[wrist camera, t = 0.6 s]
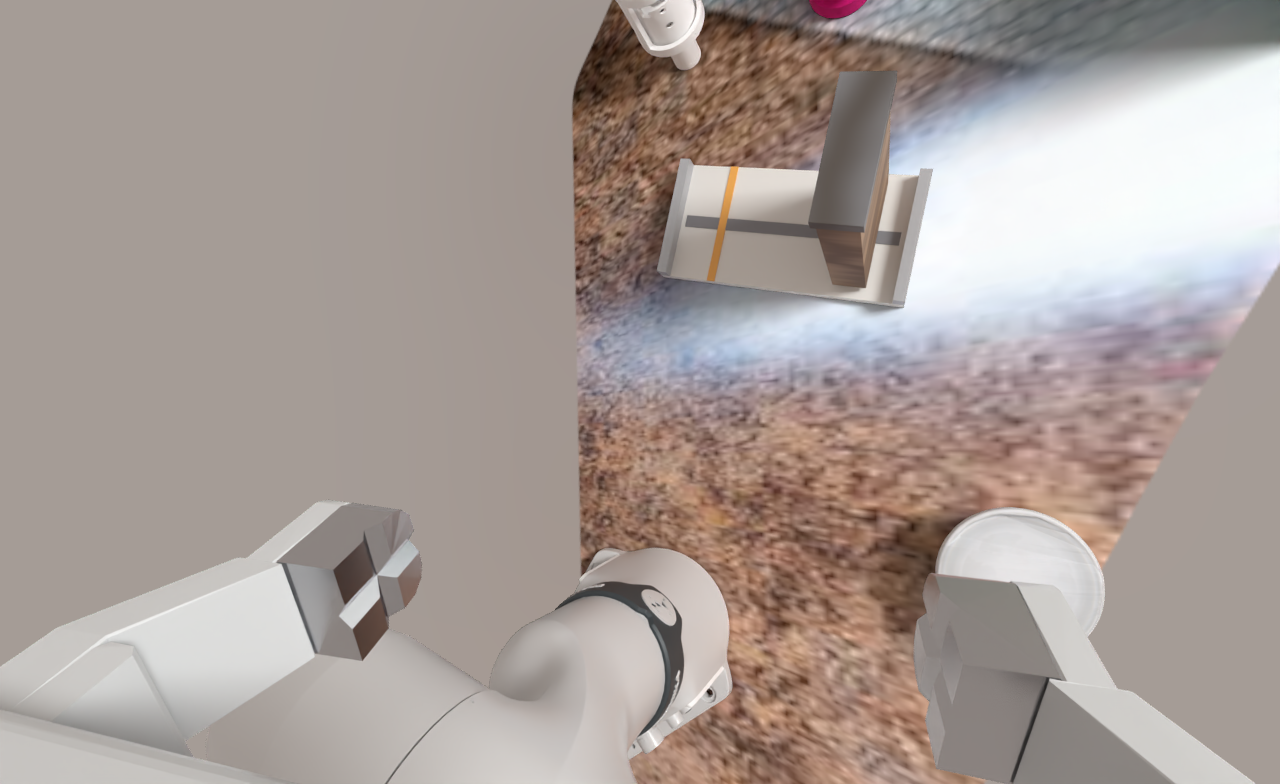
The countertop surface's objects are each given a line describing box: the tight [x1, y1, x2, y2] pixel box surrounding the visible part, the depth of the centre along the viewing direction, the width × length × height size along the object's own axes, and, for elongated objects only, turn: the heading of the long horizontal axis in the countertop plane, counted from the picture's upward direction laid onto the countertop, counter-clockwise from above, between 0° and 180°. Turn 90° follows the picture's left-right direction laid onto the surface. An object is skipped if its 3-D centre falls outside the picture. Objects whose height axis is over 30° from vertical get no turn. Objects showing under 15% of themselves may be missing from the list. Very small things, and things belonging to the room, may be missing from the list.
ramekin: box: [935, 507, 1105, 636], centre depth 47 cm, size 11×11×5 cm
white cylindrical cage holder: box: [616, 0, 705, 70], centre depth 58 cm, size 7×7×15 cm
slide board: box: [657, 159, 933, 308], centre depth 58 cm, size 24×12×2 cm, turn 78°
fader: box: [808, 71, 897, 288], centre depth 47 cm, size 4×10×17 cm, turn 168°
